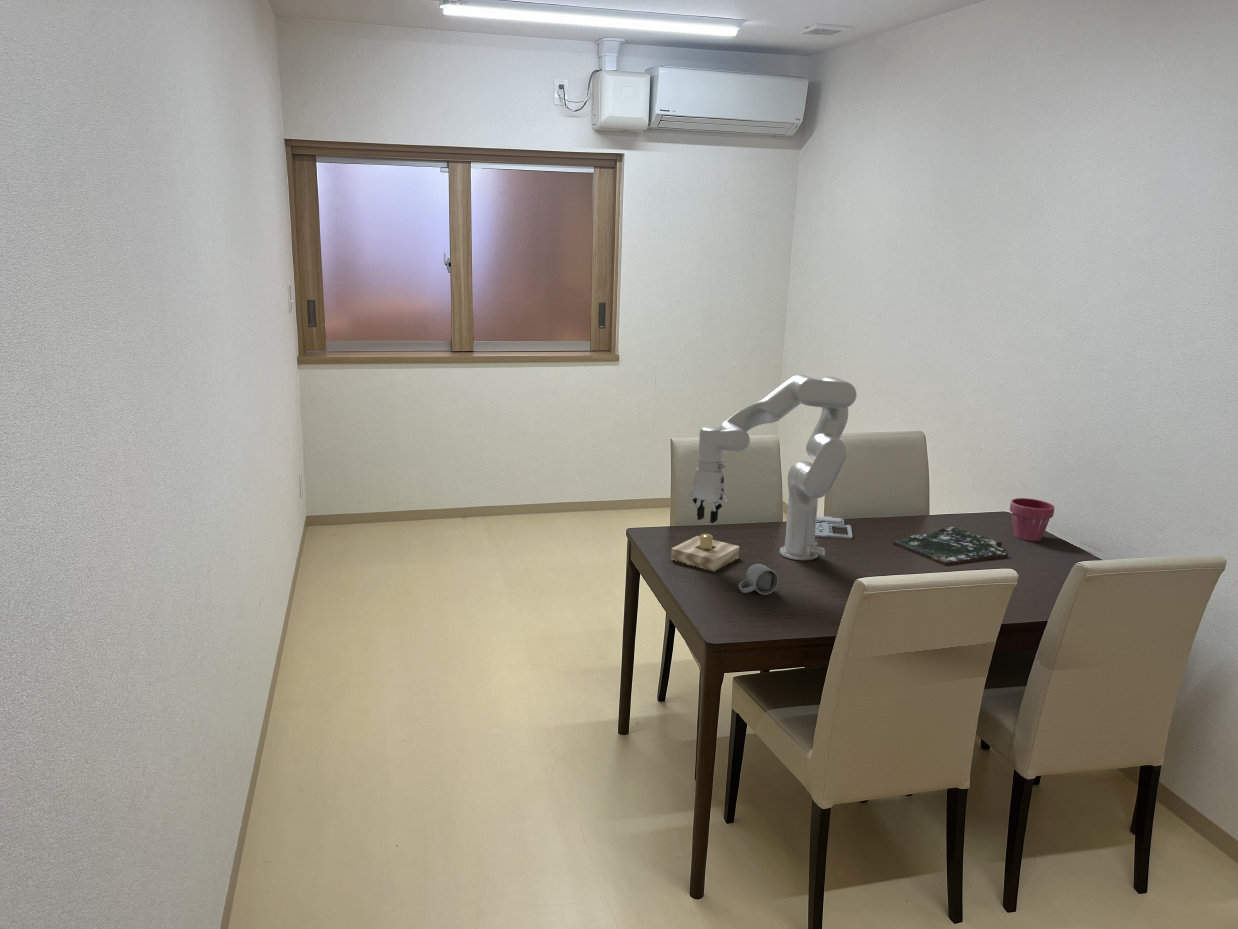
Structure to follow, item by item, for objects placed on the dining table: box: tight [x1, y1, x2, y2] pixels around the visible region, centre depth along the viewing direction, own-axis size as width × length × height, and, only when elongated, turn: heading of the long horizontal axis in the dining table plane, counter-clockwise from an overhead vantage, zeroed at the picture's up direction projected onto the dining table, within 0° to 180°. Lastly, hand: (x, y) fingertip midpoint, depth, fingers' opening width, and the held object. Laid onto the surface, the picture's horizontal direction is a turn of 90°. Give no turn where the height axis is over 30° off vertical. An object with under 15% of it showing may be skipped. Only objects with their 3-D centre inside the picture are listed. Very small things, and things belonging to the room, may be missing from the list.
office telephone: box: [815, 515, 853, 540], centre depth 314 cm, size 23×3×20 cm
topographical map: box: [892, 526, 1009, 566], centre depth 295 cm, size 26×33×3 cm
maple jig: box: [670, 535, 740, 572], centre depth 279 cm, size 16×16×4 cm
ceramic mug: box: [738, 563, 779, 595], centre depth 254 cm, size 11×8×8 cm
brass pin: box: [699, 533, 714, 551], centre depth 278 cm, size 4×4×8 cm
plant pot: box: [1009, 497, 1055, 542], centre depth 308 cm, size 14×14×13 cm
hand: (707, 520), depth 276 cm, fingers open, 4 cm apart
